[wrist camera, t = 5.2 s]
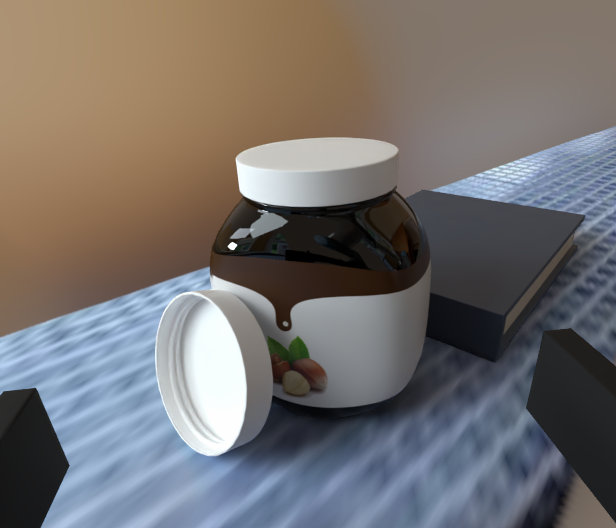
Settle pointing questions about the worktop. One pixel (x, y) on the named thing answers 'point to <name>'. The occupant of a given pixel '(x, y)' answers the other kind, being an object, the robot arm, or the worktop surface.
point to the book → (489, 266)
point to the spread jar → (299, 296)
